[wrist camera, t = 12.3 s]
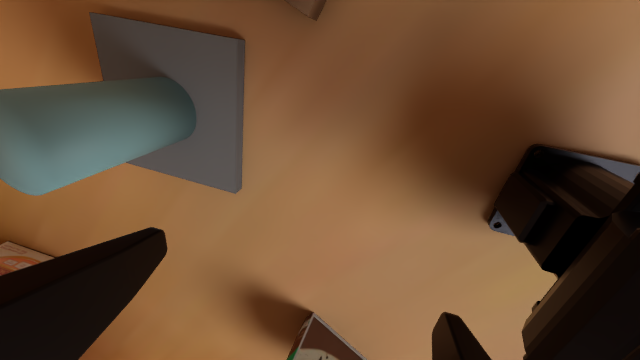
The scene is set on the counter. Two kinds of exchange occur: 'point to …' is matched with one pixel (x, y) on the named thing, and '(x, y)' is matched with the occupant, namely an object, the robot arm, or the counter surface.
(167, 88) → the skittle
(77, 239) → the counter surface
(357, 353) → the food container
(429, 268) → the counter surface
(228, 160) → the mat
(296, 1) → the bar
